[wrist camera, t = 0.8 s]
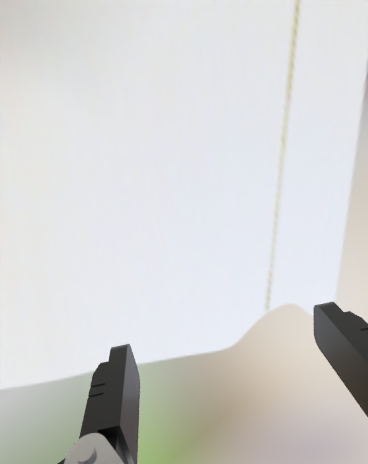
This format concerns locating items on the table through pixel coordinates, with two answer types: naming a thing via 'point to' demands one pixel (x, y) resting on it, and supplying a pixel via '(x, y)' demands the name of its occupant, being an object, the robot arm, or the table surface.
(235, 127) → the table surface
